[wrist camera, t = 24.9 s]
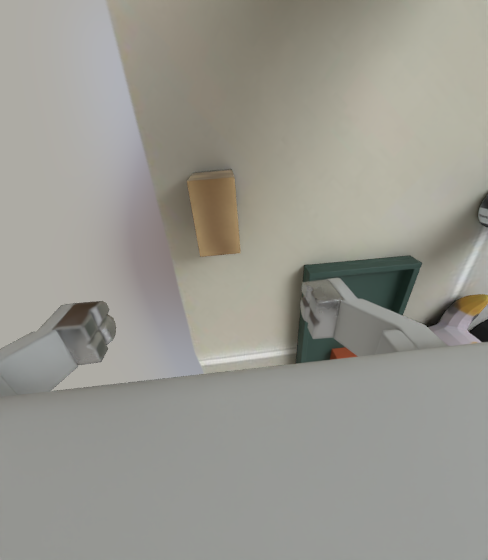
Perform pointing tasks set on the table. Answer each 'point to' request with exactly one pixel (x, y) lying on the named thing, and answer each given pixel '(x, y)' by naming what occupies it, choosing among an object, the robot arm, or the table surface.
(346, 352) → the orange red square block
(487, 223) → the pill bottle
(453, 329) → the figurine
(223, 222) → the tan brown block
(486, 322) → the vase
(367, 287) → the tray
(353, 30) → the table surface
